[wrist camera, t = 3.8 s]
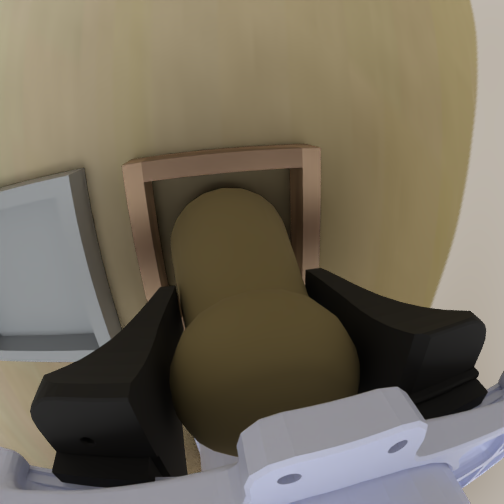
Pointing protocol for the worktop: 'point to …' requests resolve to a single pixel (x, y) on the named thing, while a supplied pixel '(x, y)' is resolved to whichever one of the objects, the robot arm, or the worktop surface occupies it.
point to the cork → (248, 323)
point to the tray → (52, 272)
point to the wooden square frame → (213, 162)
